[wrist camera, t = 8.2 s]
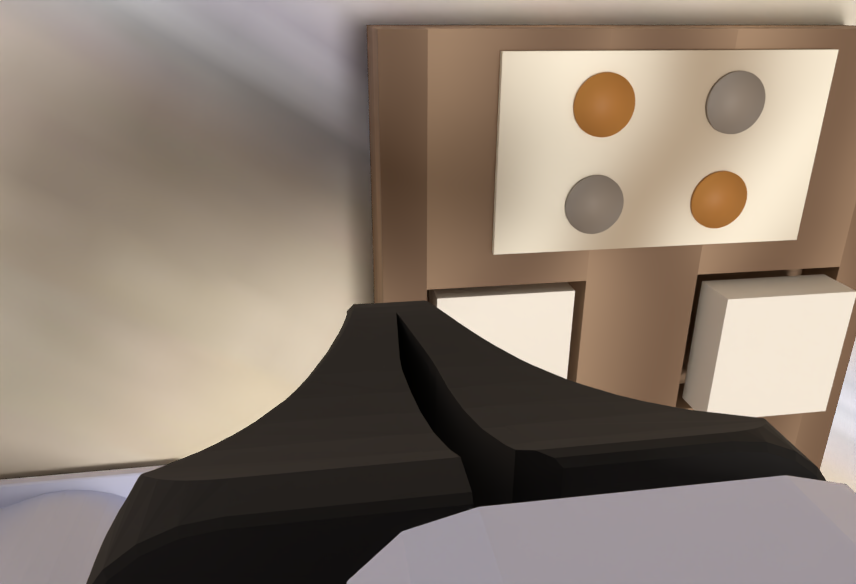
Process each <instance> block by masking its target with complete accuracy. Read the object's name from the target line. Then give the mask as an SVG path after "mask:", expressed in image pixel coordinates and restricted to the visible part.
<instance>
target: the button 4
mask: <svg viewBox="0 0 856 584" xmlns="http://www.w3.org/2000/svg"><path fill="white" fill-rule="evenodd" d="M855 298H856V291H855V290H853V289H851V288H849V287H848V286H846V285H844V284H842V283H840V282H838V281H836V280H834V279H832V278H830V277H828V276H827V275H825V274H817V275H800V276H782V277H765V278H747V279H730V280H712V281H702V284H701V290H700V296H699V302H698V308H697V313H696V319H695V325H694V331H693V337H692V343H691V349H690V355H689V361H688V366H687V372H686V378H685V384H684V390H683V396H682V398H683V399H684V400H685V401H686V402H687V403H688V404H689V405H690V406H691V407H692V408H693V409H694V410H696V411H705V412H714V413H723V414H732V415H740V416H749V417H764V416H775V415H786V414H797V413H809V412H820V411H826V407H827V403H828V400H829V396H830V392H831V388H832V384H833V381H834V377H835V373H836V369H837V366H838V362H839V358H840V354H841V351H842V347H843V343H844V339H845V335H846V332H847V328H848V324H849V320H850V317H851V313H852V309H853V305H854V301H855Z"/></svg>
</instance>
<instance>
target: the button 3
mask: <svg viewBox="0 0 856 584" xmlns="http://www.w3.org/2000/svg"><path fill="white" fill-rule="evenodd" d="M574 297H575V290H574V289H573V288H572V287H571V286H570V285H569V284H568V283H567V282H556V283H538V284H520V285H502V286H484V287H466V288H448V289H430V290H429V303H431V304H433V305H434V306H436V307H437V308H439V309H440V310H442V311H443V312H444V313H446V314H447V315H449V316H450V317H452V318H453V319H454V320H456V321H457V322H459V323H460V324H462V325H463V326H465V327H466V328H468V329H469V330H471V331H472V332H474V333H475V334H477V335H479V336H480V337H482V338H483V339H485V340H487V341H488V342H490V343H492V344H493V345H495V346H497V347H499V348H501V349H502V350H504V351H506V352H508V353H510V354H512V355H513V356H515V357H517V358H519V359H521V360H523V361H525V362H527V363H529V364H532V365H534V366H536V367H538V368H541V369H543V370H546V371H548V372H551V373H553V374H555V375H558V376H560V377H563V378H565V379H567V372H568V361H569V351H570V340H571V329H572V319H573V308H574Z"/></svg>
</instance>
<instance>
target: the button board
mask: <svg viewBox="0 0 856 584" xmlns="http://www.w3.org/2000/svg"><path fill="white" fill-rule="evenodd" d="M367 59H368V94H369V130H370V165H371V201H372V236H373V272H374V303H388V302H405V301H423V300H426V301H428V302H429V290H430V289H448V288H466V287H484V286H502V285H520V284H538V283H556V282H567V283H568V284H569V285H570V286H571V287H572V288H573V289H574V290H575V297H574V308H573V319H572V329H571V340H570V351H569V361H568V372H567V379H568V380H571V381H574V382H577V383H580V384H583V385H586V386H589V387H593V388H596V389H599V390H603V391H606V392H609V393H613V394H616V395H620V396H624V397H629V398H633V399H637V400H641V401H646V402H651V403H656V404H661V405H667V406H672V407H677V408H682V409H689V410H694V409H693V408H692V407H691V406H690V405H689V404H688V403H687V402H686V401H685V400H684V399H683V398H682V396H683V390H684V384H685V378H686V372H687V366H688V361H689V355H690V349H691V343H692V337H693V331H694V325H695V319H696V313H697V308H698V302H699V296H700V290H701V284H702V281H712V280H730V279H747V278H765V277H782V276H800V275H817V274H825V275H827V276H828V277H830V278H832V279H834V280H836V281H838V282H840V283H842V284H844V285H846V286H848V287H849V288H851V289H853V290H855V291H856V26H849V25H367ZM855 337H856V298H855V301H854V305H853V309H852V313H851V317H850V320H849V324H848V328H847V332H846V335H845V339H844V343H843V347H842V351H841V354H840V358H839V362H838V366H837V369H836V373H835V377H834V381H833V384H832V388H831V392H830V396H829V400H828V403H827V407H826V411H820V412H809V413H797V414H786V415H775V416H764V417H758V418H764V419H766V420H767V421H768V422H769V423H770V424H771V425H772V426H773V427H774V428H775V429H777V430H778V431H779V432H780V433H781V434H782V435H783V436H784V437H785V438H786V439H787V440H789V441H790V442H791V443H792V444H793V445H794V446H795V447H796V448H797V449H798V450H799V451H801V452H802V453H803V454H804V455H805V456H806V457H807V458H808V459H809V460H810V461H811V462H813V463H814V464H815V465H816V466H817V467H818V468H819V470H820V466H821V463H822V459H823V455H824V451H825V448H826V444H827V440H828V437H829V433H830V429H831V426H832V422H833V418H834V415H835V411H836V407H837V404H838V400H839V396H840V393H841V389H842V385H843V382H844V378H845V374H846V370H847V367H848V363H849V359H850V356H851V352H852V348H853V345H854V341H855Z"/></svg>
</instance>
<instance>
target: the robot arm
mask: <svg viewBox="0 0 856 584" xmlns="http://www.w3.org/2000/svg"><path fill="white" fill-rule="evenodd" d="M0 584H856V493H855V492H854V491H853V490H852V489H851V488H850V487H849V486H847V485H846V484H842V483H835V482H828V481H826V480H825V478H824V476H823V475H822V473H821V472H820V470H819V468H818V467H817V466H816V465H815V464H814V463H813V462H811V461H810V460H809V459H808V458H807V457H806V456H805V455H804V454H803V453H802V452H801V451H799V450H798V449H797V448H796V447H795V446H794V445H793V444H792V443H791V442H790V441H789V440H787V439H786V438H785V437H784V436H783V435H782V434H781V433H780V432H779V431H778V430H777V429H775V428H774V427H773V426H772V425H771V424H770V423H769V422H768V421H767V420H766V419H764V418H758V417H749V416H740V415H732V414H723V413H714V412H705V411H696V410H689V409H682V408H677V407H672V406H667V405H661V404H656V403H651V402H646V401H641V400H637V399H633V398H629V397H624V396H620V395H616V394H613V393H609V392H606V391H603V390H599V389H596V388H593V387H589V386H586V385H583V384H580V383H577V382H574V381H571V380H568V379H565V378H563V377H560V376H558V375H555V374H553V373H551V372H548V371H546V370H543V369H541V368H538V367H536V366H534V365H532V364H529V363H527V362H525V361H523V360H521V359H519V358H517V357H515V356H513V355H512V354H510V353H508V352H506V351H504V350H502V349H501V348H499V347H497V346H495V345H493V344H492V343H490V342H488V341H487V340H485V339H483V338H482V337H480V336H479V335H477V334H475V333H474V332H472V331H471V330H469V329H468V328H466V327H465V326H463V325H462V324H460V323H459V322H457V321H456V320H454V319H453V318H452V317H450V316H449V315H447V314H446V313H444V312H443V311H442V310H440V309H439V308H437V307H436V306H434V305H433V304H431V303H429V302H428V301H426V300H423V301H405V302H388V303H371V304H354V305H353V306H352V307H351V308H350V309H349V310H348V311H347V316H346V319H345V321H344V324H343V326H342V328H341V330H340V332H339V334H338V335H337V337H336V339H335V340H334V342H333V344H332V345H331V347H330V349H329V350H328V352H327V353H326V355H325V356H324V357H323V359H322V360H321V361H320V363H319V364H318V365H317V366H316V368H315V369H314V370H313V372H312V373H311V374H310V375H309V377H308V378H307V379H306V380H305V381H304V382H303V383H302V384H301V385H300V387H299V388H298V389H297V390H296V391H295V392H294V393H293V394H291V395H290V396H289V397H288V398H287V399H286V400H285V401H283V402H282V403H280V404H279V405H278V406H276V407H275V408H274V409H272V410H271V411H269V412H268V413H267V414H265V415H264V416H263V417H261V418H260V419H258V420H257V421H256V422H254V423H253V424H251V425H249V426H248V427H246V428H244V429H243V430H241V431H239V432H237V433H236V434H234V435H232V436H230V437H228V438H226V439H225V440H223V441H221V442H219V443H217V444H215V445H213V446H211V447H209V448H207V449H204V450H202V451H200V452H198V453H195V454H193V455H190V456H188V457H185V458H183V459H180V460H178V461H175V462H172V463H170V464H167V465H161V466H149V467H138V468H127V469H115V470H104V471H93V472H81V473H70V474H59V475H47V476H36V477H25V478H13V479H2V480H0Z"/></svg>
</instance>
